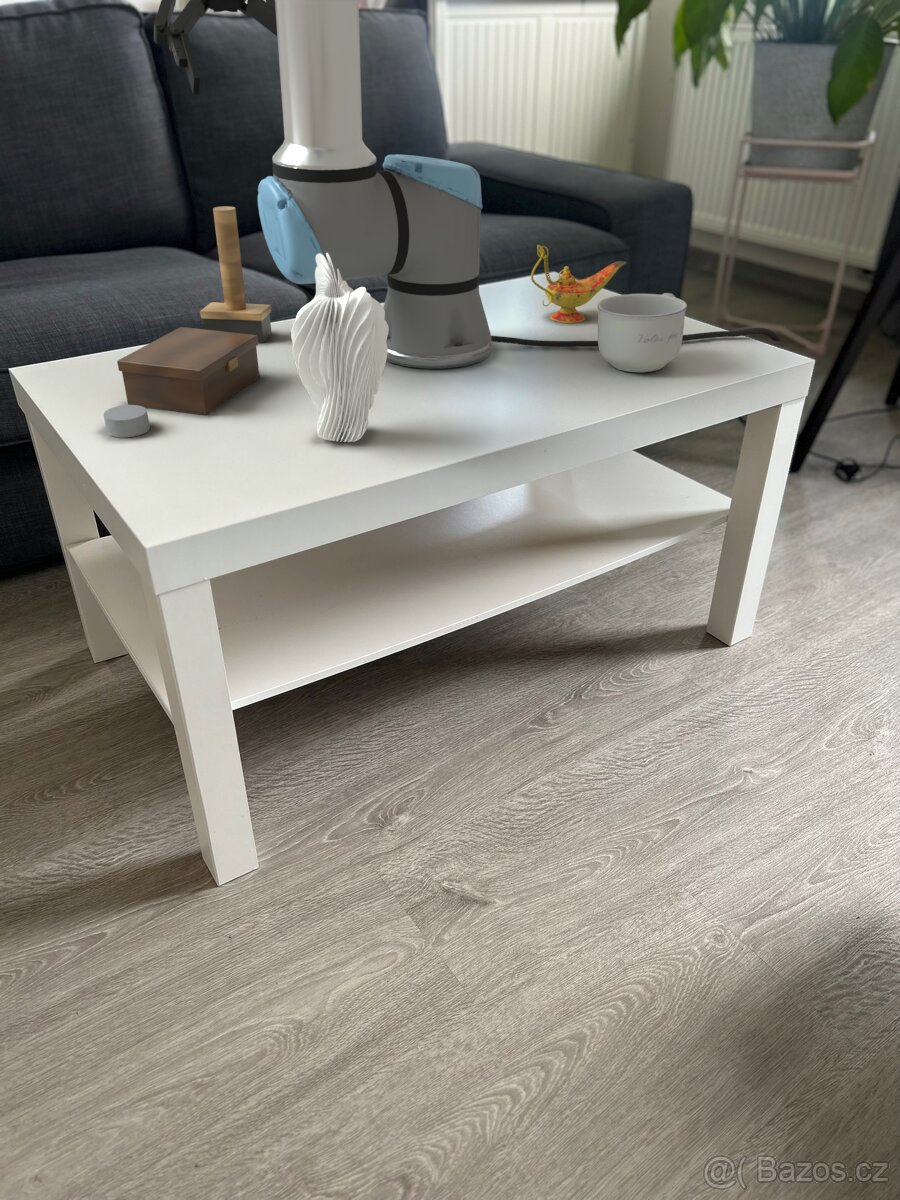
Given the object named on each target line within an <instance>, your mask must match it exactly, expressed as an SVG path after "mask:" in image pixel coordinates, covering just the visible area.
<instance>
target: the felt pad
mask: <svg viewBox="0 0 900 1200" xmlns="http://www.w3.org/2000/svg"><path fill="white" fill-rule="evenodd" d="M103 419H104V424H105V425H104V426H105V429H106V433H107V435H108V436H111V437H113V438H118V439H119V438H122V439H125V438H126V439H127V438H134V437H138V436H141V435H144V434H146V433H147V432H149V430H150V428H151V427H150V420H149V415H148V410H147V407H142V406H139V405H128V404H123V405H117V406H114V407H113V406H112V407H110V408H108V409H107V410H105V411H104V412H103Z"/></svg>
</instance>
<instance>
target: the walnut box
mask: <svg viewBox="0 0 900 1200" xmlns="http://www.w3.org/2000/svg"><path fill="white" fill-rule="evenodd" d="M258 345H259V343H258V336H257V335H251V334H242V333H233V332H223V331H214V330H205V328H204V329H203V328H195V327H194V328H193V327H186V326H185V327H184V326H180V327H178V328H176V329H174V330H172V331H170V332H168V333H166V334H165V335H162V336H161V337H159V338H157V339H155V340H153V341H151V342H150V343H148V344H146V345H144V346H142V347H140V348H138V349H137V350H135V351H133V352H131V353H129V354H127V355H125V356H124V357H122V358H121V357H120V359H118V360H116V361H117V368H118V371H119V372H121V375H122V380H123V385H124V390H125V396H126V401H127V405H139V406H142V407H144V408H149V409H158V410H166V411H172V412H179V413H187V414H195V415H203V416H207V415H208V414H210V413H211V412H213V411H214V410H215V409H218V408H219V407H220V406H222V405H223V404H224V403H225V402H227V401H229V400H231V398H232V397H234V396H236V395H237V394H238V393H239V392H241V391H243V390H244V389H245V388H246V387H248V386H250V385H251V384H252V383H254V382H255V381H257V380H259V379H260V369H259V368H260V367H259V359H258V350H257V349H258V348H257V346H258Z"/></svg>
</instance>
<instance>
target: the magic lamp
mask: <svg viewBox="0 0 900 1200" xmlns="http://www.w3.org/2000/svg"><path fill="white" fill-rule="evenodd" d="M544 248H545V249H546V251H545V249H544ZM536 249H537V251H536V252H537V256H538V260H537V262H536V263H535V265H534V266H533V269H531V273H530V280H531V282H532V284H533V285H534V286H535V287H538V288H539V289H540V290H542V291H544V292H545V295H546V298H547V299H548V300H549V301H548V303H547V304H544V302H545V299H543V300H542V306H543V307H548V306H549V305H550V304H551V303H552V304H553V305H555V306H558V307H559V308H560V309H559V310H557V311H556V312H554V313H552V314H551V315H550V317H549V318H550V320H552V321H554V322H558V323H561V324H562V323H563V324H575V323H576V324H577V323H581V322H583V321H585V320H586V317H585V316H584V315H583V314H581V313H580V312H579V311H578V310H577V308H578V307H581V306H583V305H586V304H588V302H590V301H591V300H592V299H593V298H594V297H595V296H596V295H597V294H598V293H599V292H600V291H601V290H602V289H604V287H605V286H606V285H608V283H609V282H610V281H611V279H612V278H613V277H614V276H615V274H616V273H617V272H618V271H619V269H620V268H622V266H624V265H625V264H627V262H626V261H624V260H623V261H621V260H618V261H615V262H613V263H610V264H609V265H607V266H605V267H604V268H603V269H601V270H599V271H598V272H597V273H595V274H593V275H591V276H589V277H585V278H582V279H575V276H574V275H572V273H571V271H570V268H569V266H568V265H566V266H564V267H563V269H561V270H560V271H559V273H558V278H557V279H556V280H554V281H553V280H552V279H551V275H550V269H549V249H548V247H546V246H545V245H540V244H537V245H536ZM542 260H543V268H544V274H545V279H546V281H547V283H548V285H547V286H546V288H545V287H543V286H542V285H540V284H539V283H538V282H536V281H535V280H534V274H535V271H536V270H537V267H539V264H540V263H541V261H542Z"/></svg>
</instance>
